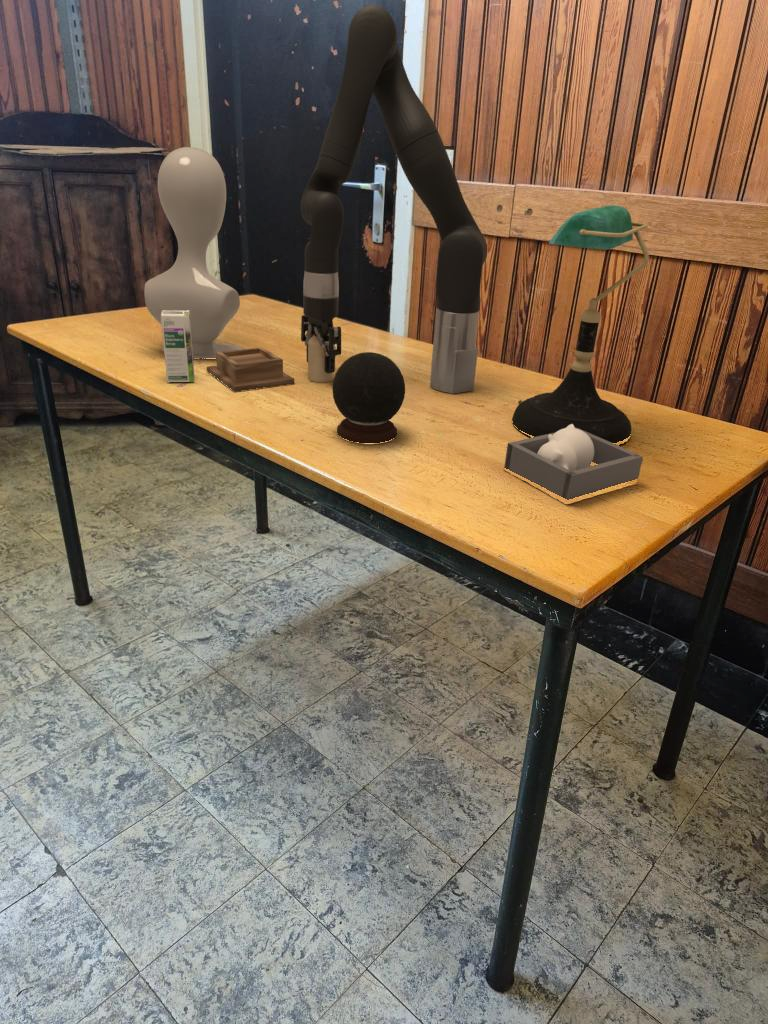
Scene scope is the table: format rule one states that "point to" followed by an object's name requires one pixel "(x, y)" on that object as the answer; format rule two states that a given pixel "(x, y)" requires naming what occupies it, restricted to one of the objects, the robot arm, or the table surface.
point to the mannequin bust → (193, 249)
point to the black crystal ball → (368, 397)
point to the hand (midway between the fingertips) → (320, 367)
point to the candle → (317, 362)
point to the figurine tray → (569, 484)
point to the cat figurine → (569, 448)
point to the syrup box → (177, 346)
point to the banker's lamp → (584, 340)
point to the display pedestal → (249, 369)
